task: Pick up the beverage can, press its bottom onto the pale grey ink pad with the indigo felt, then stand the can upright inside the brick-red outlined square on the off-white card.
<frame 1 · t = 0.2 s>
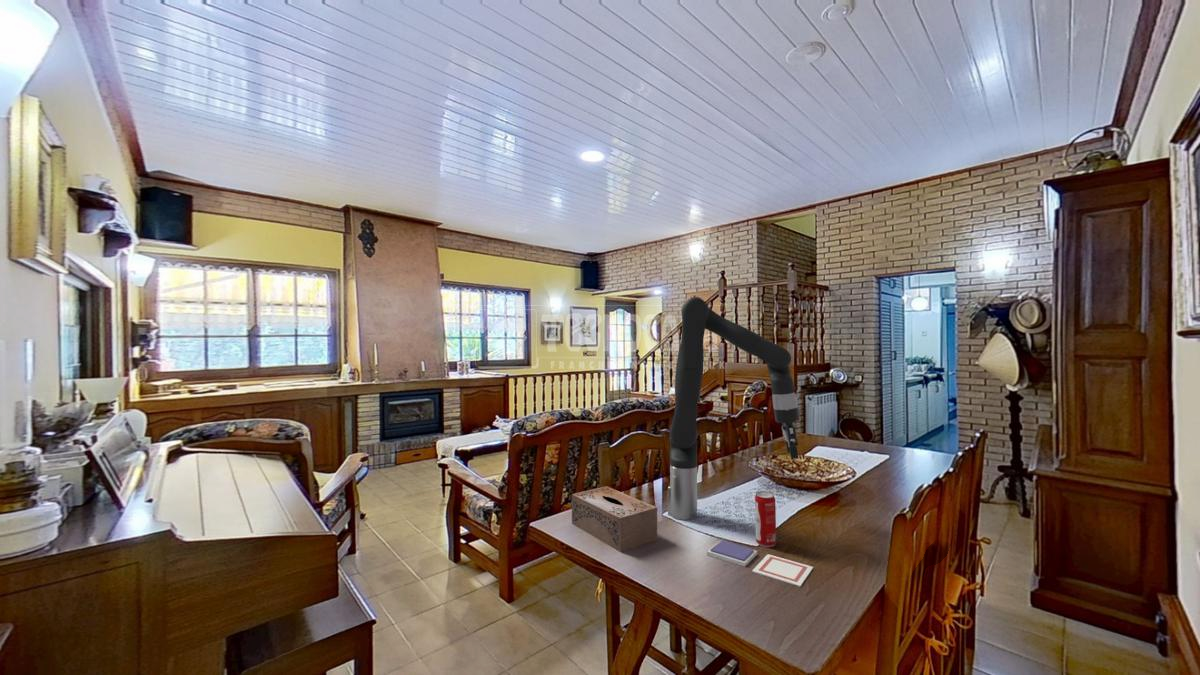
hand: (792, 455, 154), 22 cm above the table, tool pointing down, fingers open, 8 cm apart
ink pad: (732, 554, 131), on the table
marked card: (782, 569, 123), on the table
tissue box cover: (612, 532, 148), on the table
beverage can: (765, 544, 138), on the table
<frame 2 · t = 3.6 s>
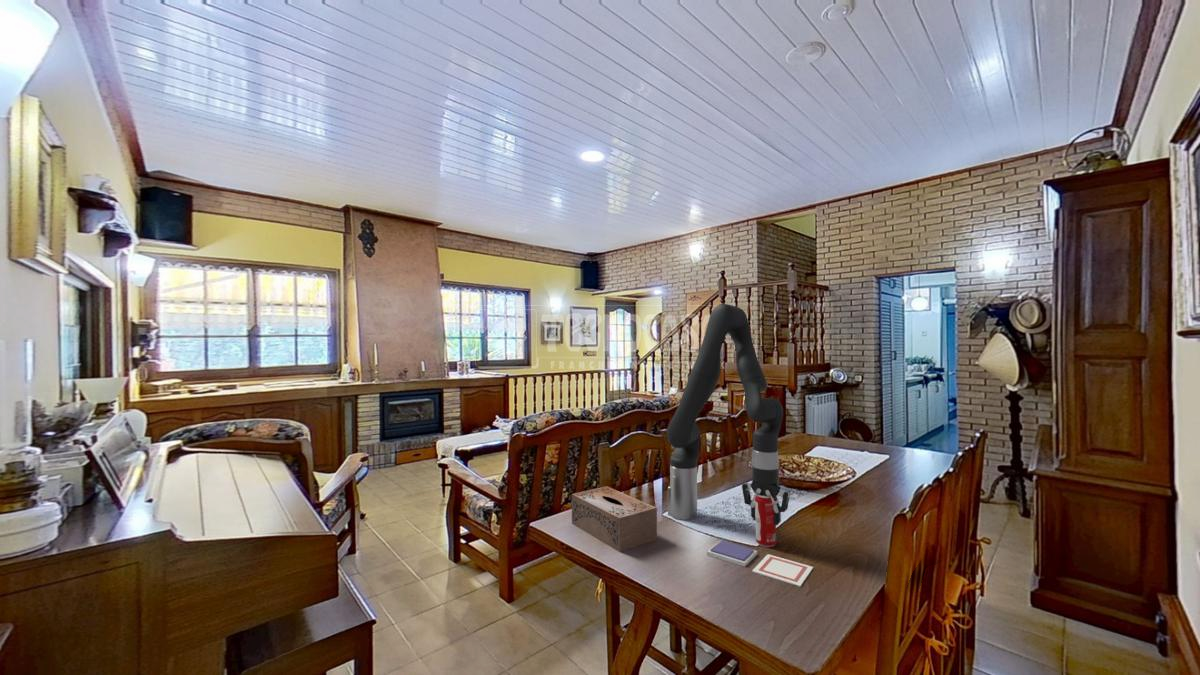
hand: (765, 521, 138), 7 cm above the table, tool pointing down, fingers closed on beverage can, 5 cm apart
beverage can: (765, 544, 138), on the table, touching gripper
everything else where it was.
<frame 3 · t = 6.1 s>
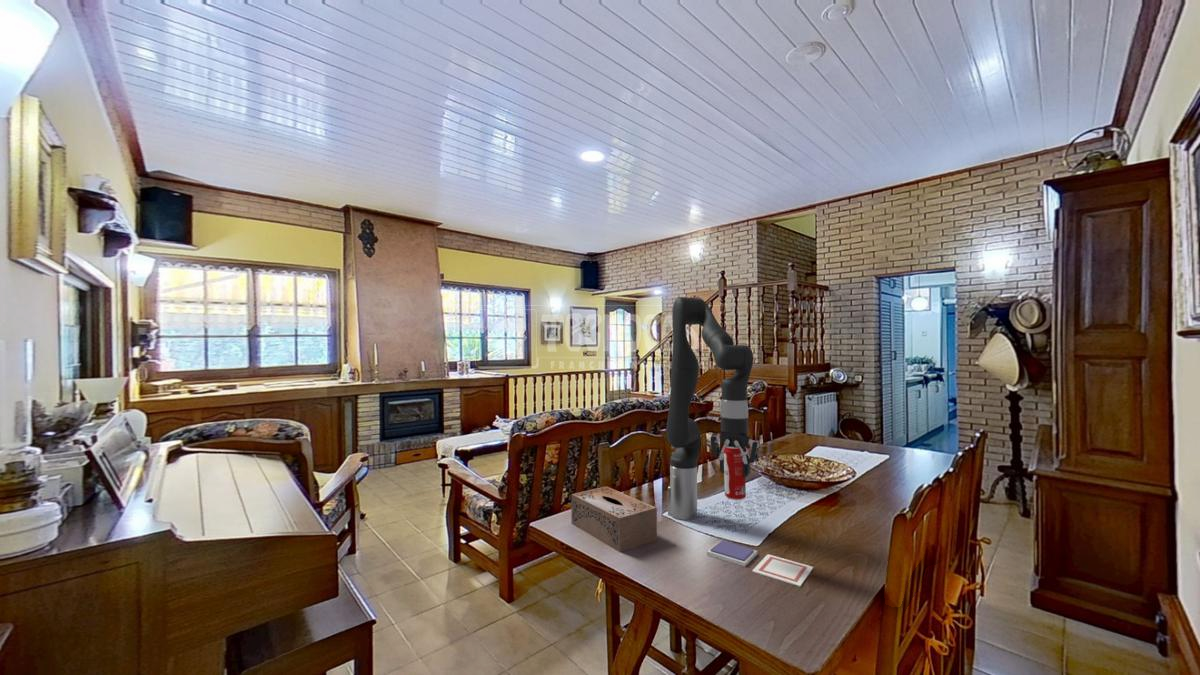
hand: (734, 474, 132), 23 cm above the table, tool pointing down, fingers closed on beverage can, 5 cm apart
beverage can: (734, 498, 132), point 16 cm above the table, touching gripper
everything else where it was.
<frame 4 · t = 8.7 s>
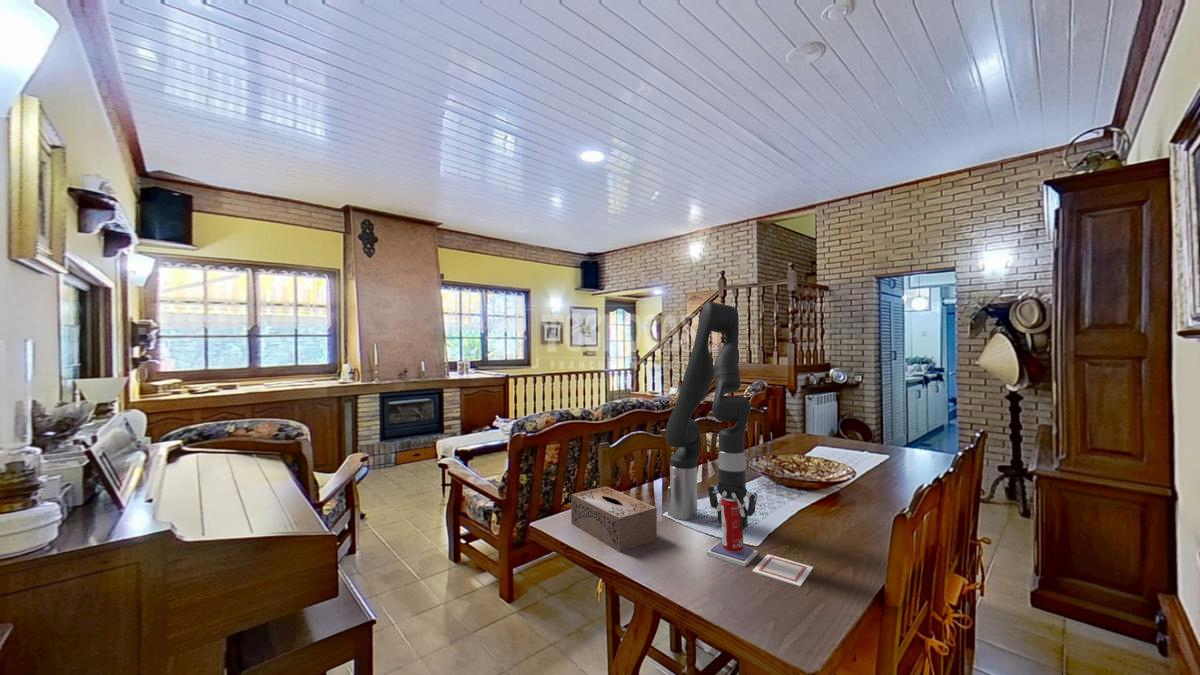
hand: (732, 526, 131), 8 cm above the table, tool pointing down, fingers closed on beverage can, 5 cm apart
beverage can: (732, 549, 131), point 1 cm above the table, touching gripper, ink pad
everything else where it was.
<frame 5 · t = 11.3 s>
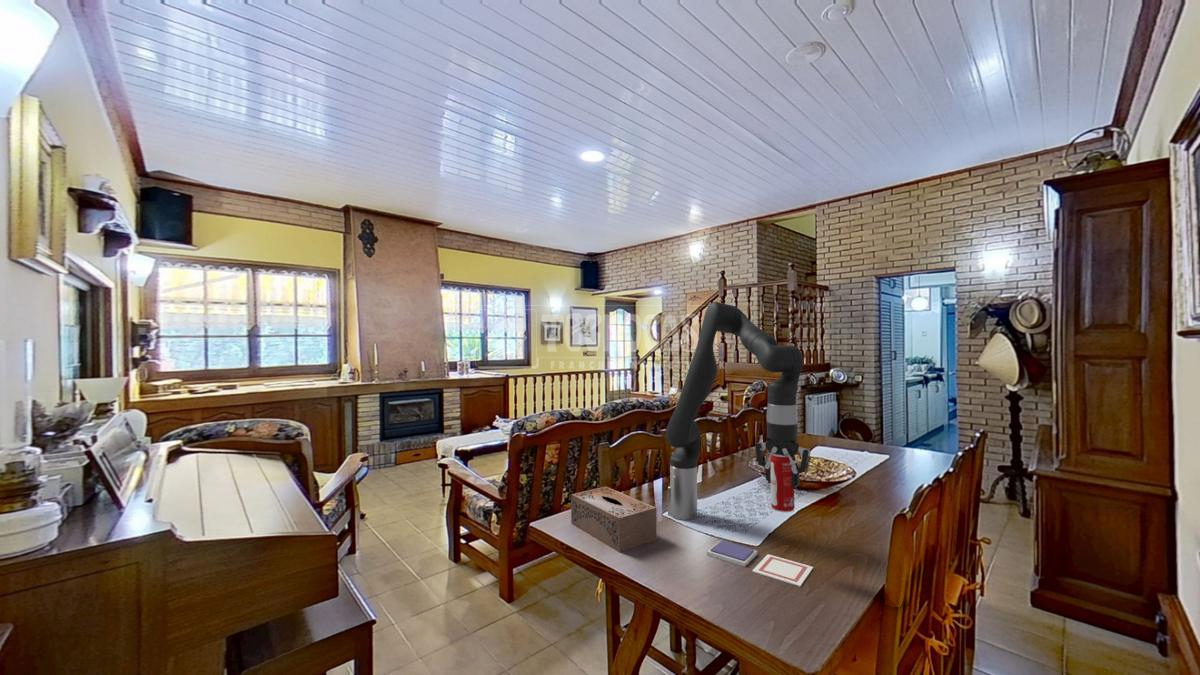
hand: (782, 484, 123), 22 cm above the table, tool pointing down, fingers closed on beverage can, 5 cm apart
beverage can: (782, 510, 123), point 16 cm above the table, touching gripper
everything else where it was.
when the fingers open (8 cm above the table, at t = 14.0 s): beverage can drops 1 cm, resting on marked card.
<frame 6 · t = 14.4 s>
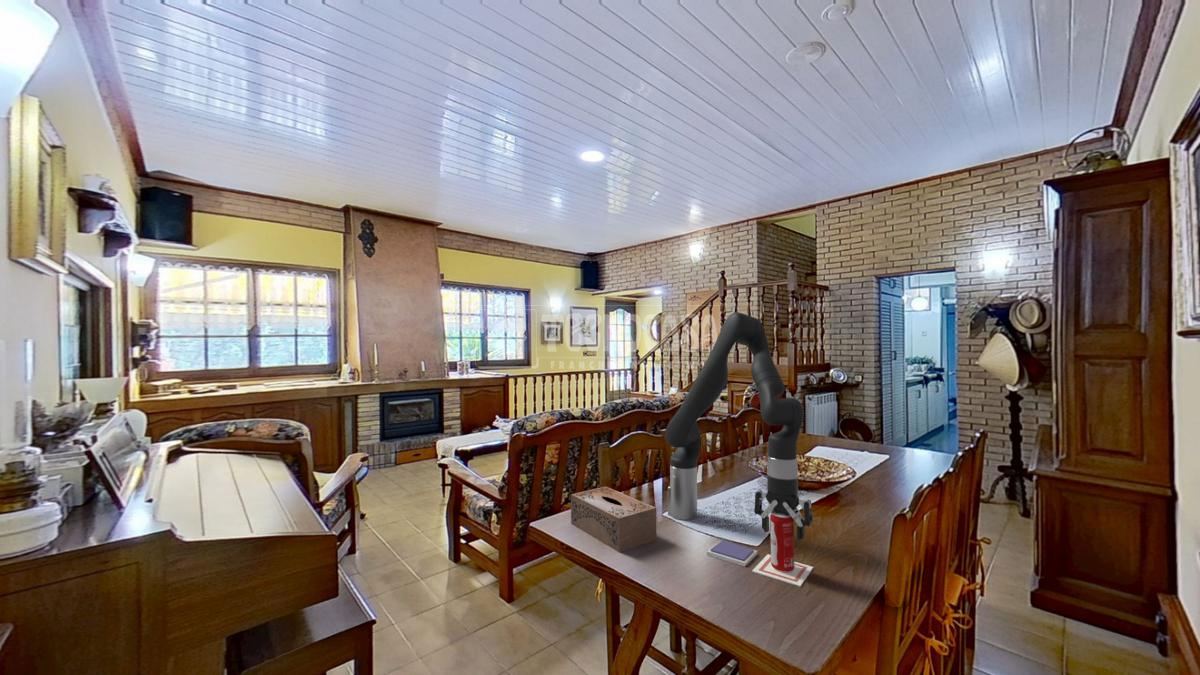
hand: (782, 535, 123), 9 cm above the table, tool pointing down, fingers open, 8 cm apart
beverage can: (782, 569, 123), resting on marked card
everything else where it was.
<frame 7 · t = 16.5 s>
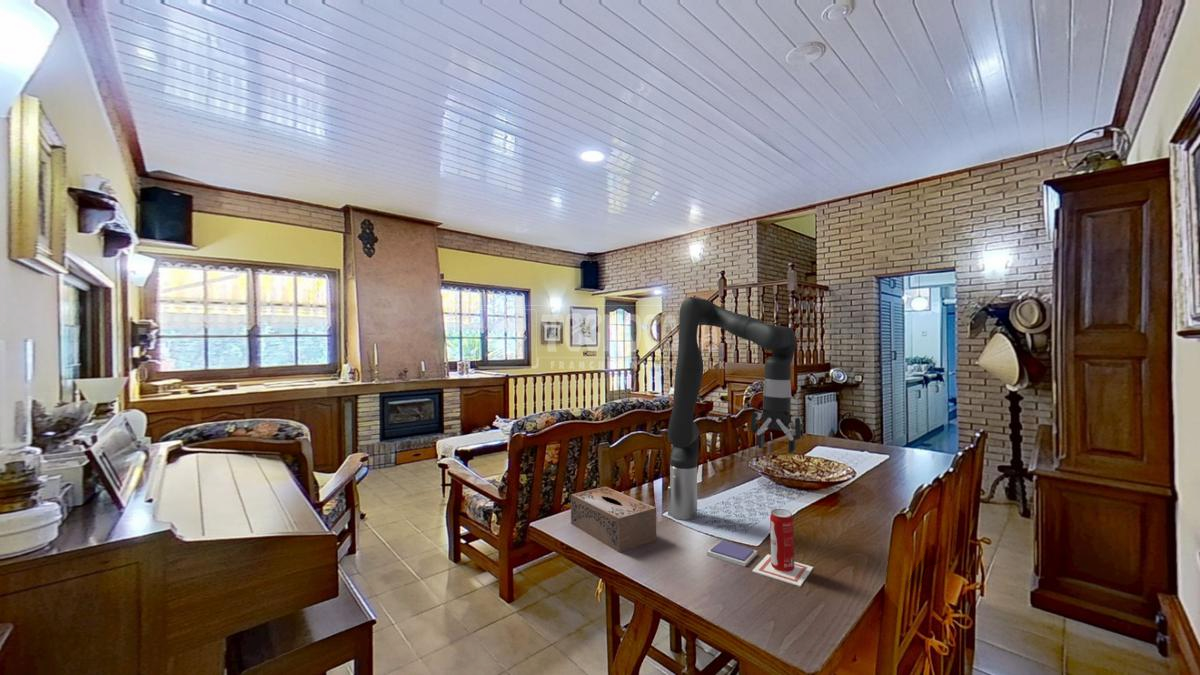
hand: (775, 450, 135), 29 cm above the table, tool pointing down, fingers open, 8 cm apart
nothing on the table moved.
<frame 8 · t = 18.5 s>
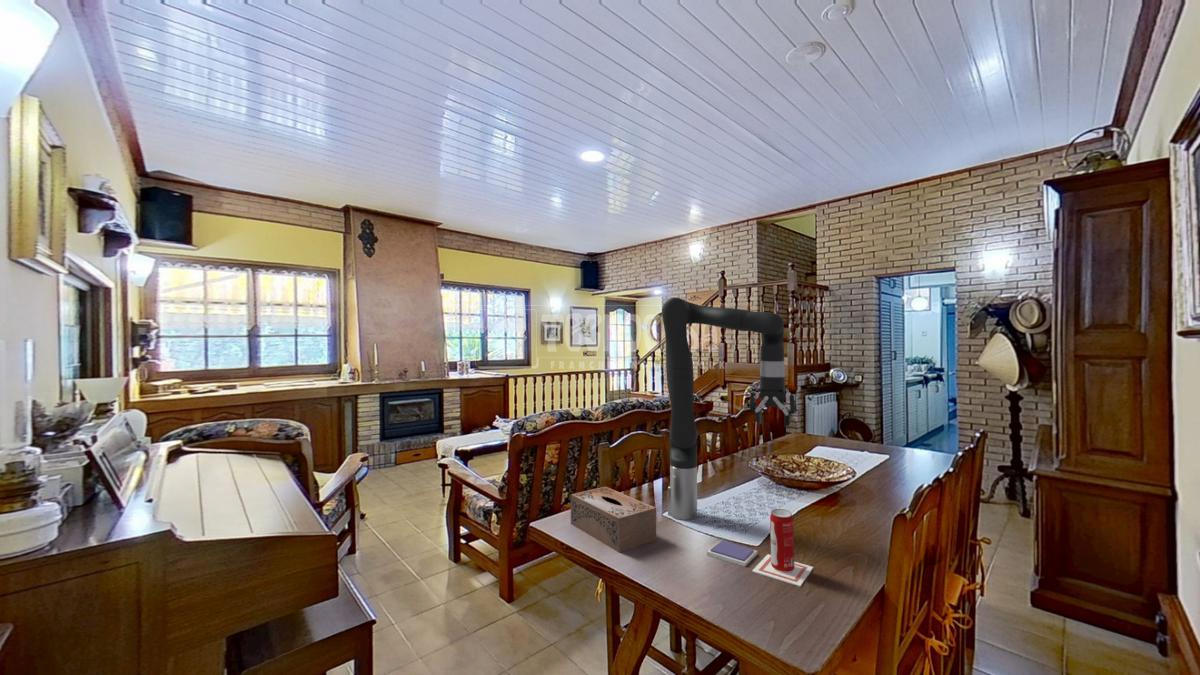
hand: (772, 425, 150), 33 cm above the table, tool pointing down, fingers open, 8 cm apart
nothing on the table moved.
at the end: beverage can 0.2 cm off-centre on the marked card, point 0.1 cm above the marked card's base; beverage can tilted 0°; the gripper is holding nothing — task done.
